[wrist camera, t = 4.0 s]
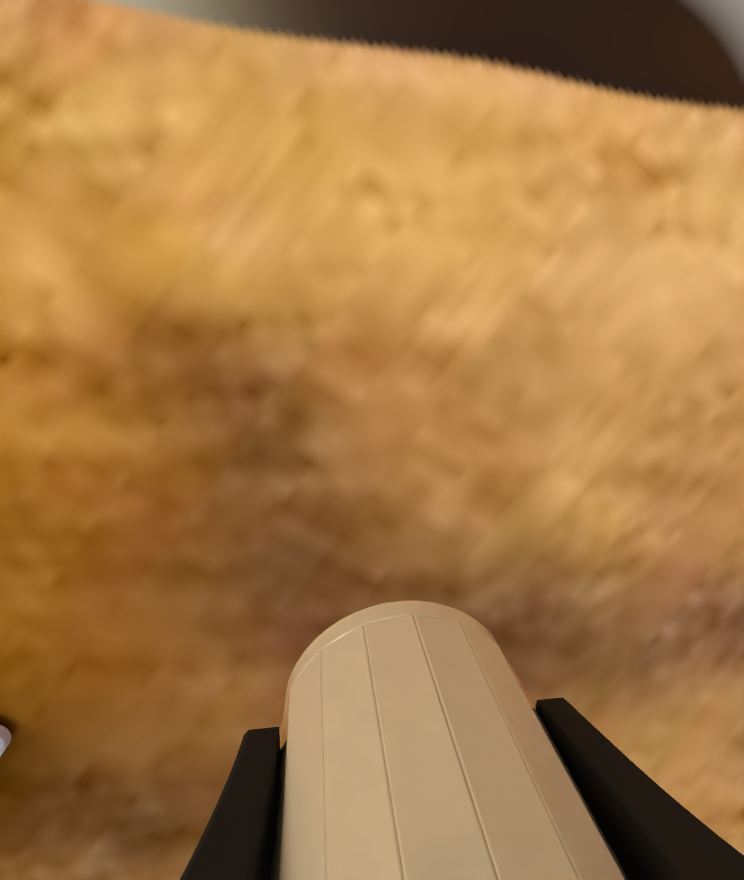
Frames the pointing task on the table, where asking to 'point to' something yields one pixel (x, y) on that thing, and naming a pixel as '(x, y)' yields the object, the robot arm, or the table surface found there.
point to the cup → (423, 761)
